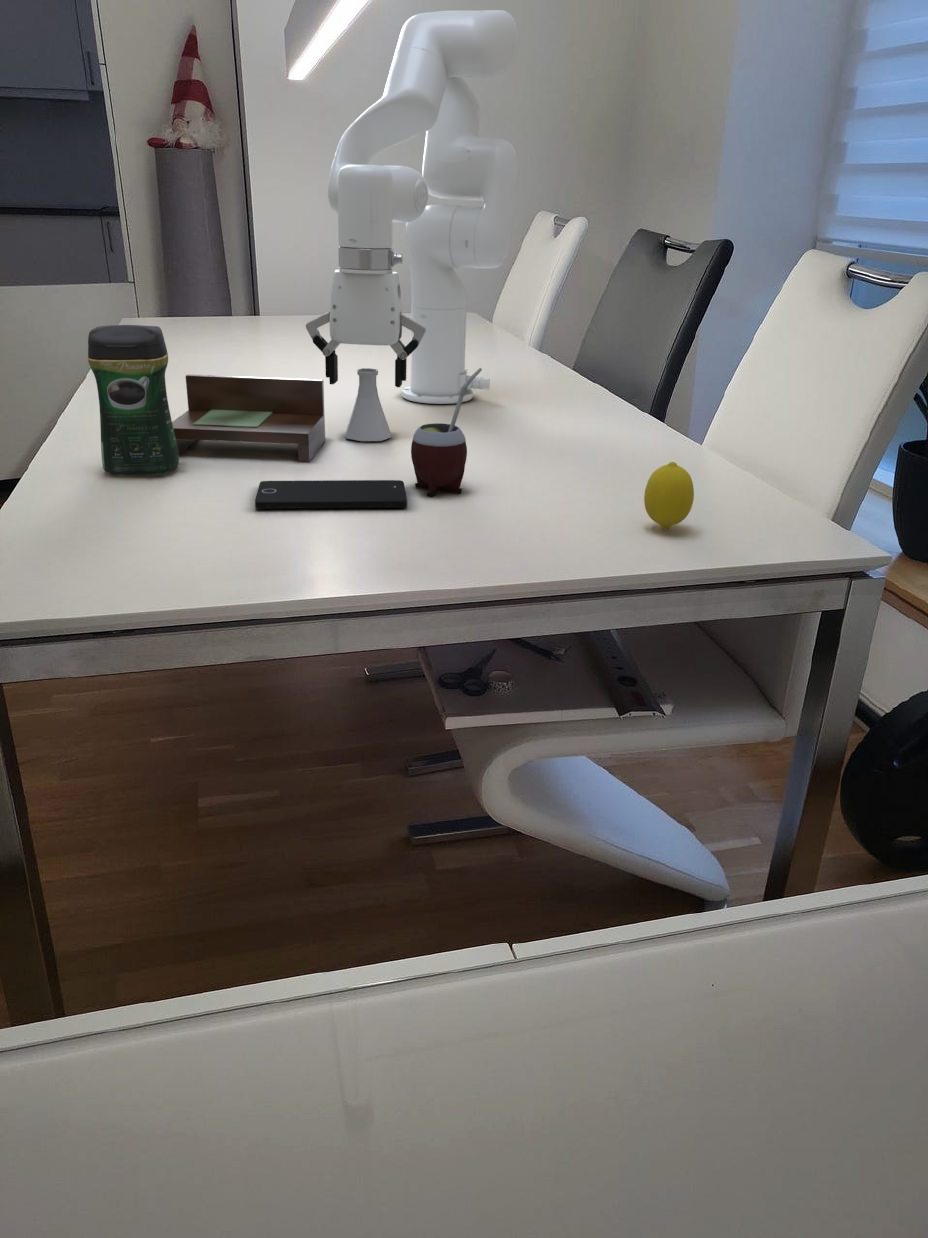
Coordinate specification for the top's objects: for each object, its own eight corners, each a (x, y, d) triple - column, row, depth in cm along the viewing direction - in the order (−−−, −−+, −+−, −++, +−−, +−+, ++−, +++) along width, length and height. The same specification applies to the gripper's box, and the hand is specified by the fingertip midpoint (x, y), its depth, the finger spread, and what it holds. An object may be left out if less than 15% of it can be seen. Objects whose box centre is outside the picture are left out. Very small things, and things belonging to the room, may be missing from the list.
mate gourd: (402, 493, 126) (402, 373, 120) (425, 477, 133) (427, 362, 127) (457, 501, 124) (460, 379, 118) (478, 484, 131) (482, 367, 125)
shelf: (325, 440, 149) (323, 379, 146) (309, 462, 139) (306, 396, 135) (192, 435, 150) (187, 374, 147) (166, 456, 139) (160, 391, 136)
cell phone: (260, 487, 127) (260, 480, 126) (403, 486, 129) (403, 479, 128) (254, 509, 119) (254, 502, 118) (407, 508, 121) (407, 500, 120)
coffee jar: (183, 461, 137) (169, 320, 130) (175, 477, 130) (160, 330, 122) (109, 462, 136) (91, 320, 128) (97, 478, 129) (78, 329, 121)
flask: (385, 444, 148) (384, 376, 144) (338, 441, 149) (336, 372, 145) (397, 433, 155) (397, 367, 150) (352, 429, 156) (351, 364, 152)
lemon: (635, 521, 119) (642, 455, 116) (681, 521, 119) (689, 455, 116) (647, 537, 114) (655, 468, 111) (695, 537, 114) (704, 468, 111)
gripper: (429, 261, 145) (426, 382, 151) (309, 257, 145) (312, 377, 152) (424, 265, 138) (422, 391, 144) (299, 260, 138) (302, 386, 145)
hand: (366, 384), depth 148 cm, fingers open, 9 cm apart
